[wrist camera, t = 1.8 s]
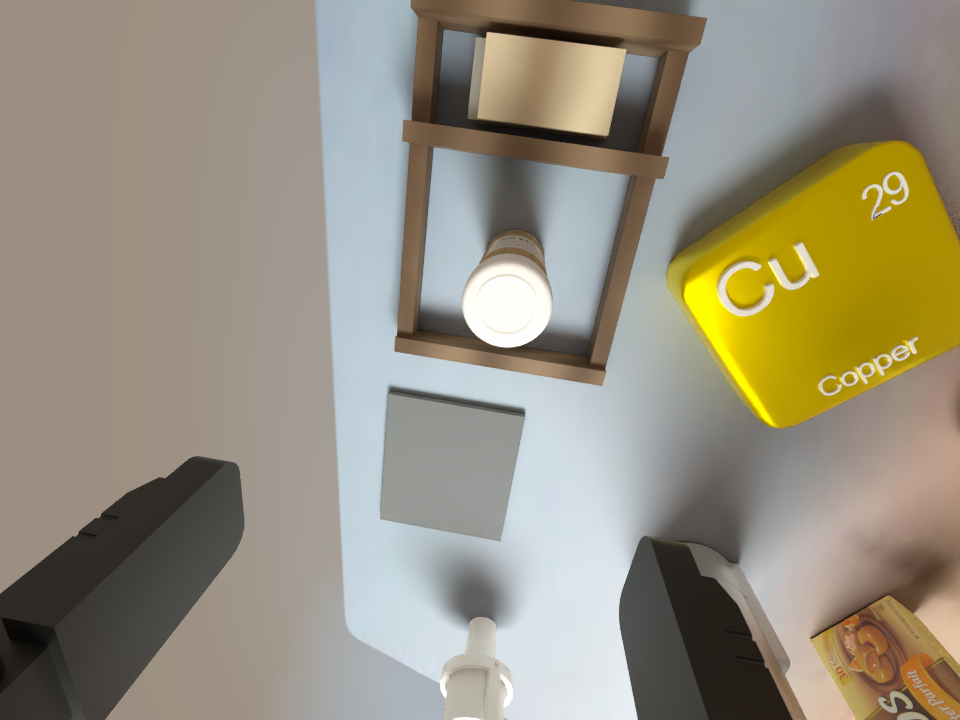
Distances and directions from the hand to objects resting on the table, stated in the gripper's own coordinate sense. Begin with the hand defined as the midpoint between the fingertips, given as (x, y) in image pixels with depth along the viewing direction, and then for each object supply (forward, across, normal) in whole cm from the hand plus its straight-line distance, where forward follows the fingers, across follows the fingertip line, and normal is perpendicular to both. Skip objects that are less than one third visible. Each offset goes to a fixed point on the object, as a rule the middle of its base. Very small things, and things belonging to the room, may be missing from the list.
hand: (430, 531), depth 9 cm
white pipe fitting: (+28, -4, +40) cm, 49 cm away
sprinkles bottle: (+28, -1, 0) cm, 28 cm away
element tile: (+29, -22, -1) cm, 36 cm away
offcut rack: (+28, -1, -4) cm, 28 cm away
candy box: (+28, -40, +30) cm, 57 cm away
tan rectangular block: (+28, -1, -12) cm, 31 cm away
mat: (+28, +2, +19) cm, 34 cm away
